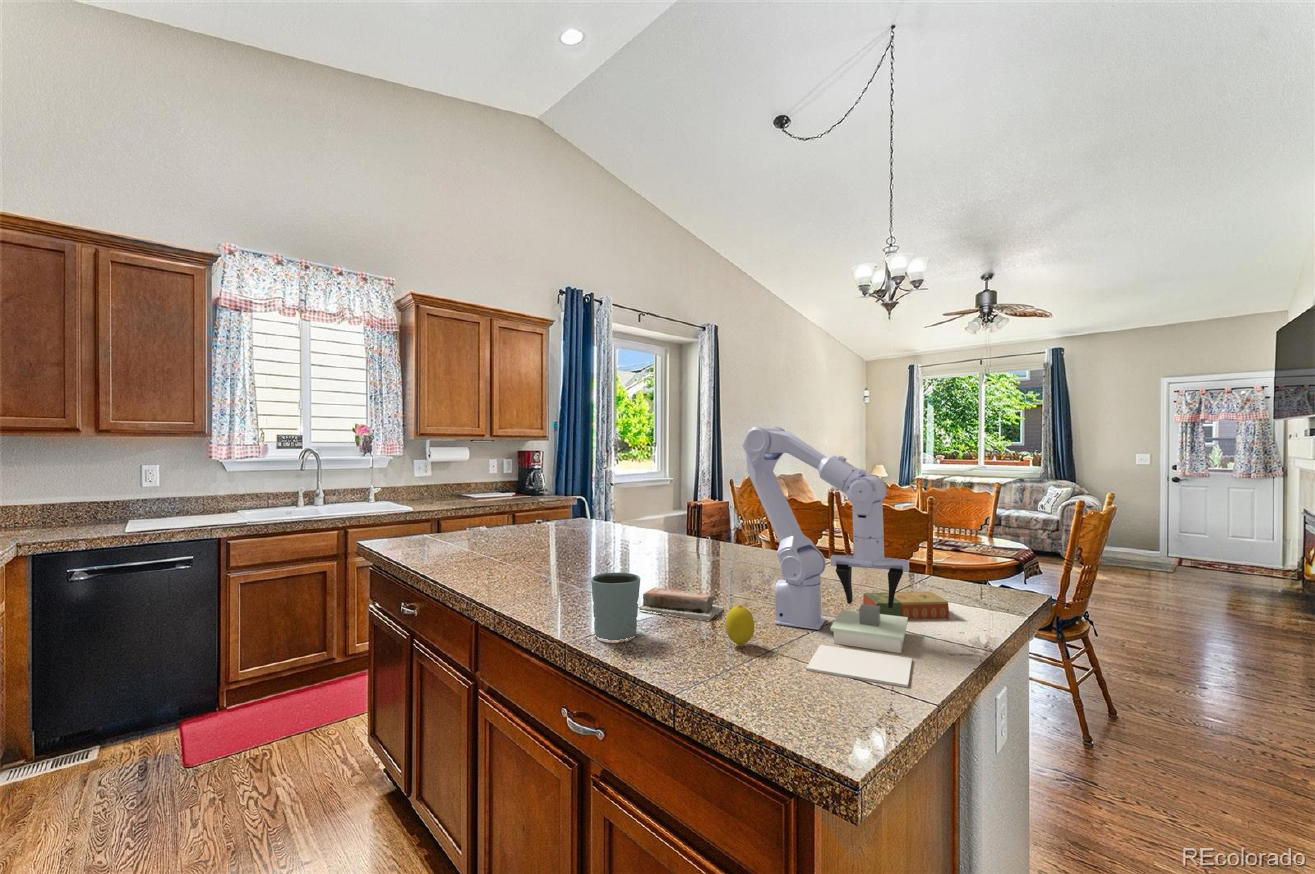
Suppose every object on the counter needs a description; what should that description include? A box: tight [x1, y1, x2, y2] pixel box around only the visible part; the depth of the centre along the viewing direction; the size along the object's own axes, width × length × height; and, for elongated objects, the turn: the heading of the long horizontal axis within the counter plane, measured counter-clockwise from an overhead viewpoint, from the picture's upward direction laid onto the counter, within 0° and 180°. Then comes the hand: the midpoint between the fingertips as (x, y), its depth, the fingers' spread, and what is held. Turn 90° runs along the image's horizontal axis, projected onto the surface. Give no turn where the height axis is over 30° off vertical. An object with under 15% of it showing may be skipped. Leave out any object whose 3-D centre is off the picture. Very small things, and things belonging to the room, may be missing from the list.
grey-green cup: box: [590, 572, 641, 640], centre depth 114 cm, size 10×10×12 cm
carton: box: [862, 591, 950, 620], centre depth 126 cm, size 8×16×4 cm, turn 88°
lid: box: [830, 603, 909, 641], centre depth 110 cm, size 13×13×4 cm
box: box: [833, 631, 906, 654], centre depth 110 cm, size 12×12×2 cm
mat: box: [805, 644, 913, 688], centre depth 97 cm, size 16×12×1 cm
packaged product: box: [638, 587, 725, 621], centre depth 130 cm, size 18×5×10 cm
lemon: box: [725, 604, 755, 647], centre depth 107 cm, size 6×6×8 cm
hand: (870, 604), depth 110 cm, fingers open, 7 cm apart
